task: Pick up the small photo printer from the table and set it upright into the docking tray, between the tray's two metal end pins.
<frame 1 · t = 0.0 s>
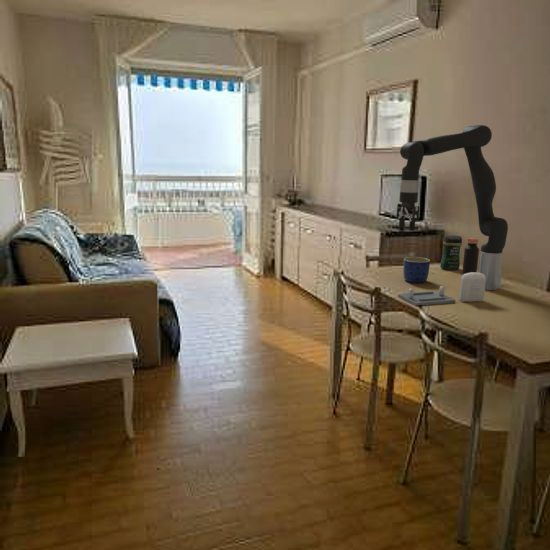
hand: (406, 229, 207), 29 cm above the table, tool pointing down, fingers open, 8 cm apart
coffee jar: (449, 269, 264), on the table
planter: (415, 281, 238), on the table
docking tray: (426, 299, 206), on the table
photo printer: (470, 301, 205), on the table
bottle: (468, 277, 246), on the table
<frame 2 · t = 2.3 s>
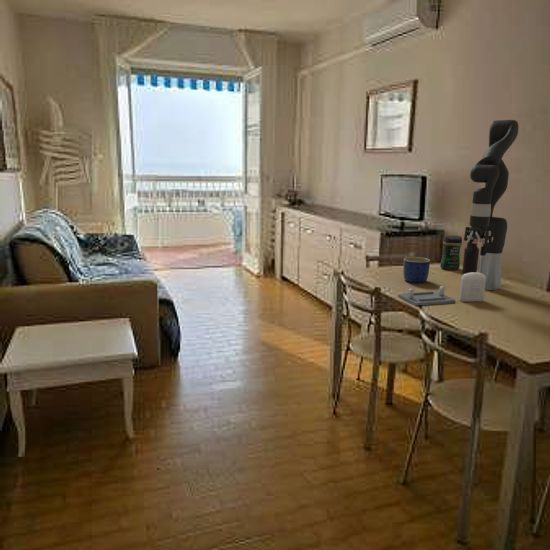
hand: (475, 253, 201), 20 cm above the table, tool pointing down, fingers open, 8 cm apart
nothing on the table moved.
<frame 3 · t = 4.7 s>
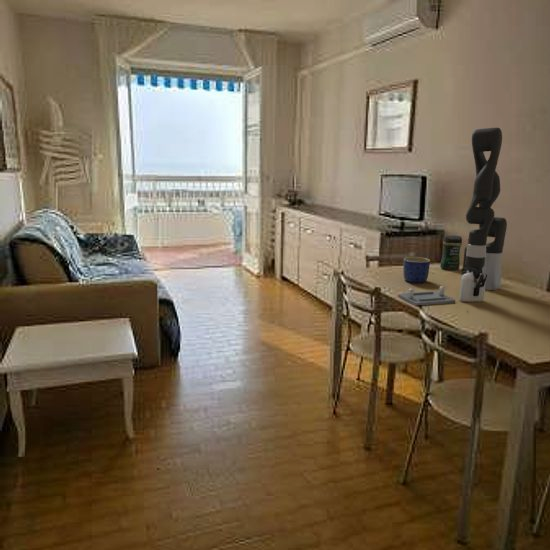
hand: (471, 294, 205), 3 cm above the table, tool pointing down, fingers closed on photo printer, 4 cm apart
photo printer: (471, 301, 205), on the table, touching gripper
everything else where it was.
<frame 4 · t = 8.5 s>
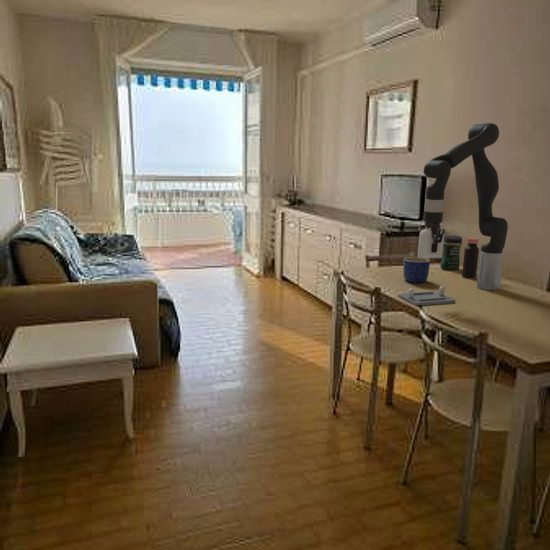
hand: (430, 251, 201), 21 cm above the table, tool pointing down, fingers closed on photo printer, 4 cm apart
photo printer: (429, 258, 202), point 18 cm above the table, touching gripper
everything else where it was.
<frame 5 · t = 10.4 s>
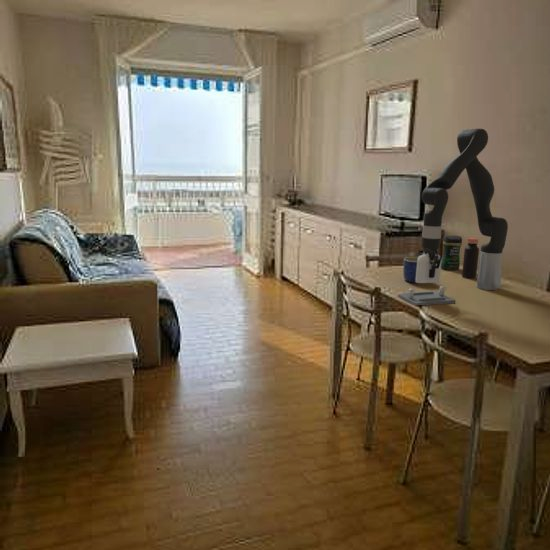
hand: (428, 276, 204), 10 cm above the table, tool pointing down, fingers closed on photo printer, 4 cm apart
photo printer: (427, 283, 205), point 7 cm above the table, touching gripper
everything else where it was.
when the fingers open (5 cm above the table, at t = 12.2 s): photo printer drops 1 cm, resting on docking tray.
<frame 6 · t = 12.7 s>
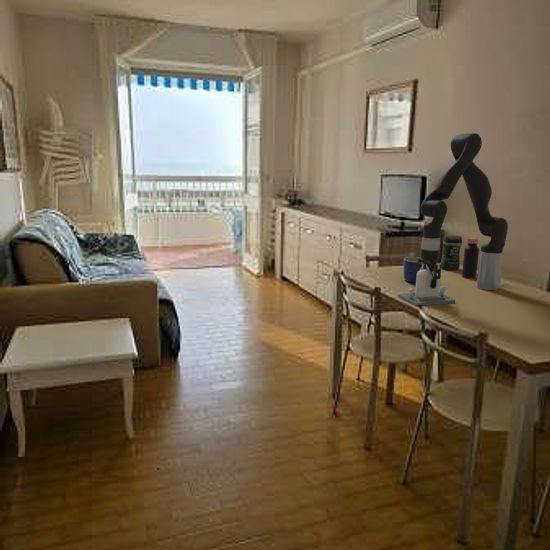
hand: (427, 285, 205), 6 cm above the table, tool pointing down, fingers open, 8 cm apart
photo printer: (426, 297, 206), point 1 cm above the table, touching docking tray
everything else where it was.
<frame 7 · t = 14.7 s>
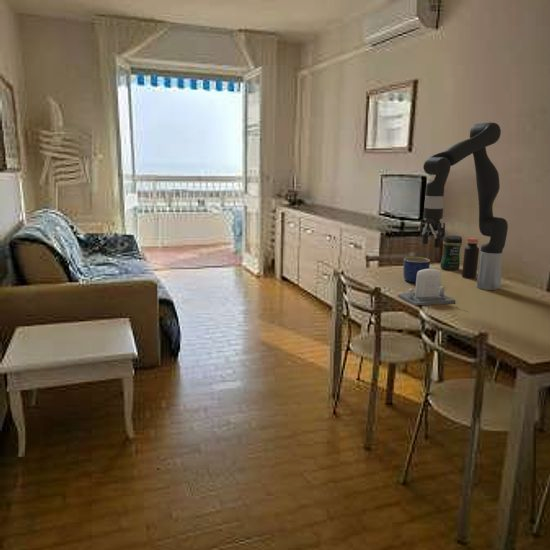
hand: (430, 245, 202), 23 cm above the table, tool pointing down, fingers open, 8 cm apart
nothing on the table moved.
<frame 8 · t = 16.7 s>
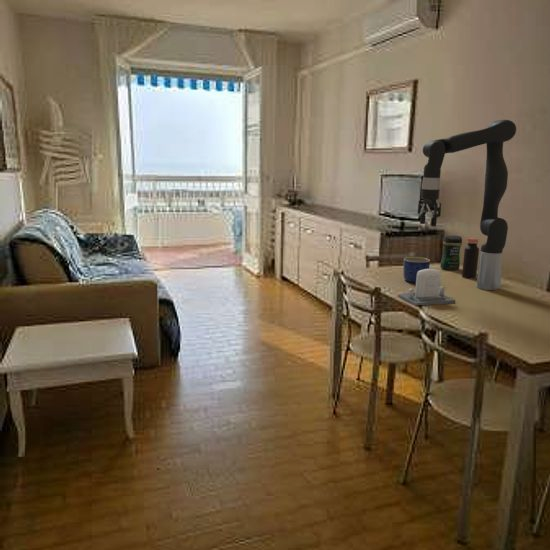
hand: (427, 225, 214), 30 cm above the table, tool pointing down, fingers open, 8 cm apart
nothing on the table moved.
at the end: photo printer 0.2 cm off-centre on the docking tray, point 1.0 cm above the docking tray's base; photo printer tilted 0°; the gripper is holding nothing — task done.
